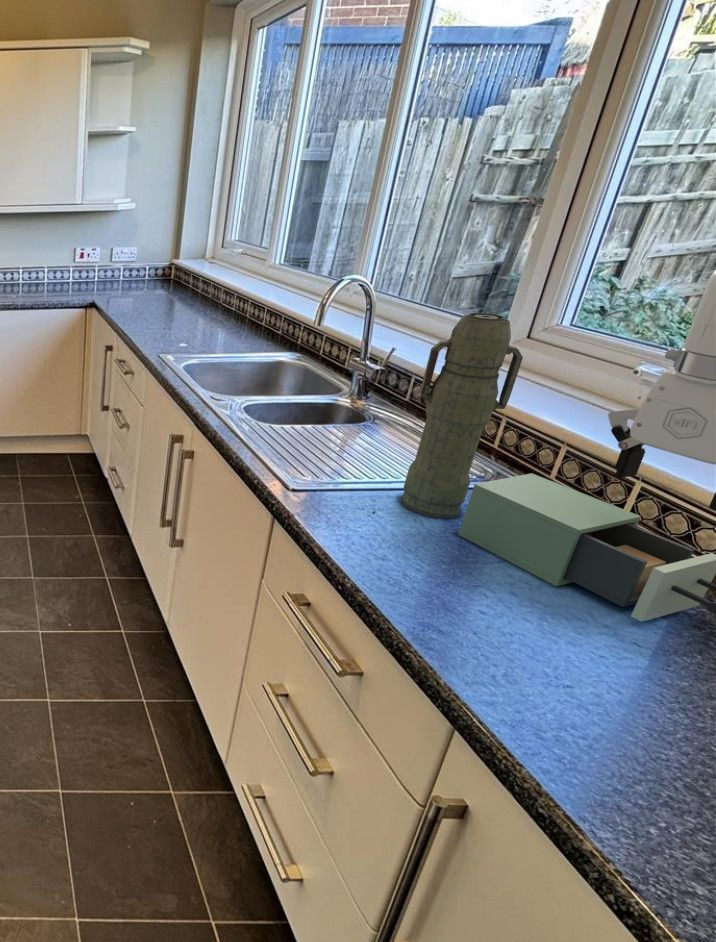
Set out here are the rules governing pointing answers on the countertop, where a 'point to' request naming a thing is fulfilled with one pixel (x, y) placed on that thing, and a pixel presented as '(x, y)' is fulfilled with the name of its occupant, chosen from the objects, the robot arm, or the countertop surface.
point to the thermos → (459, 411)
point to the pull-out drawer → (621, 571)
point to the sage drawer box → (536, 522)
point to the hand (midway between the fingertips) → (670, 491)
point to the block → (651, 564)
